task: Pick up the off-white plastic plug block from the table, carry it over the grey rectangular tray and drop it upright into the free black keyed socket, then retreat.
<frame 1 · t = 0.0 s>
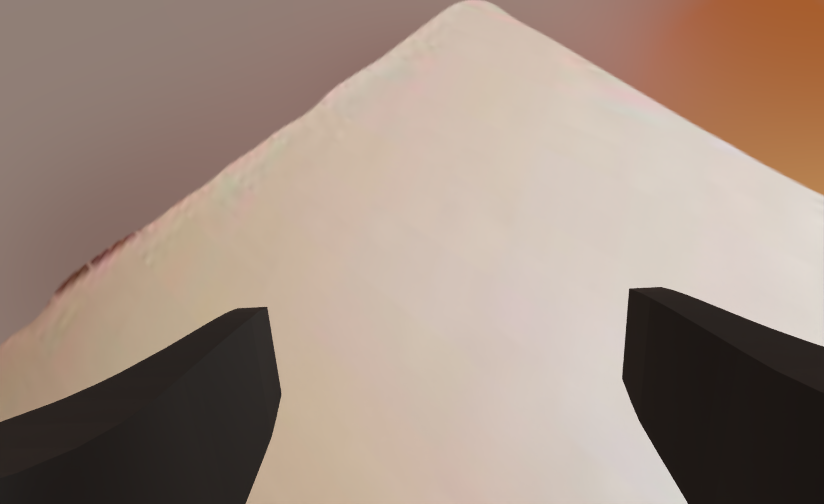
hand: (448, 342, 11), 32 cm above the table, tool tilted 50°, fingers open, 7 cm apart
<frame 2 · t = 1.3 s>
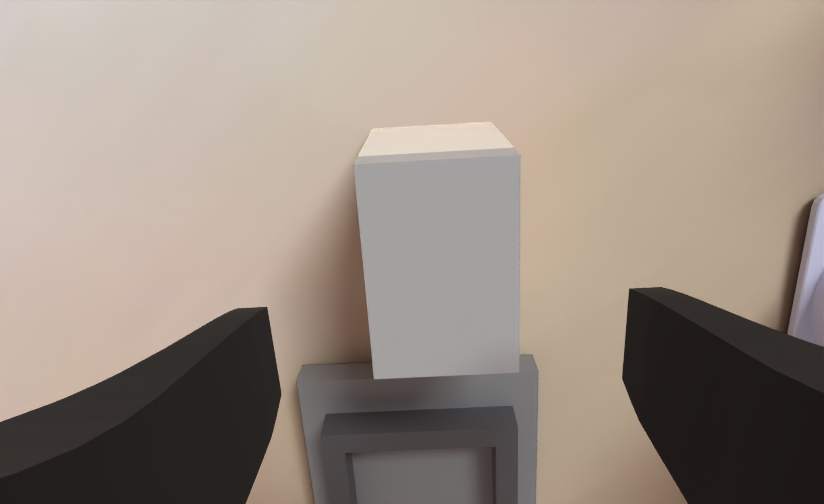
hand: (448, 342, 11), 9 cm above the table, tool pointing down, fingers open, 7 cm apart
plug: (435, 210, 20), on the table
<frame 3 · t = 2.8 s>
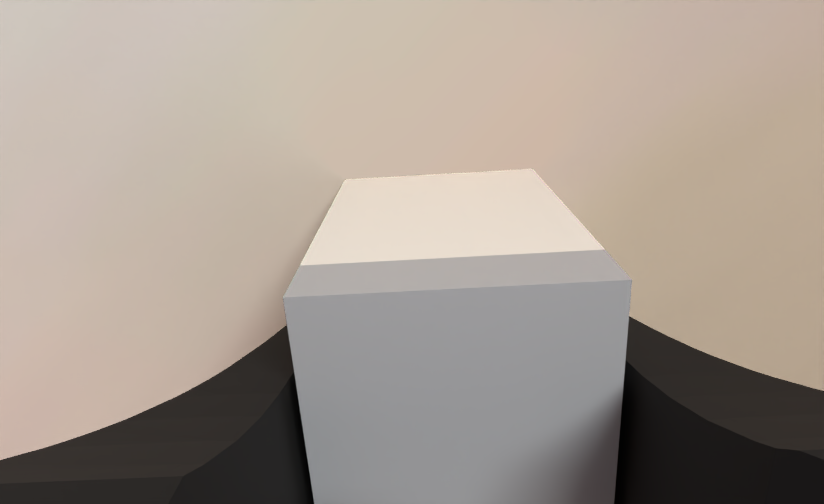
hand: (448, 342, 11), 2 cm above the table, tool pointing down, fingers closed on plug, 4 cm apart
plug: (443, 301, 13), on the table, touching gripper
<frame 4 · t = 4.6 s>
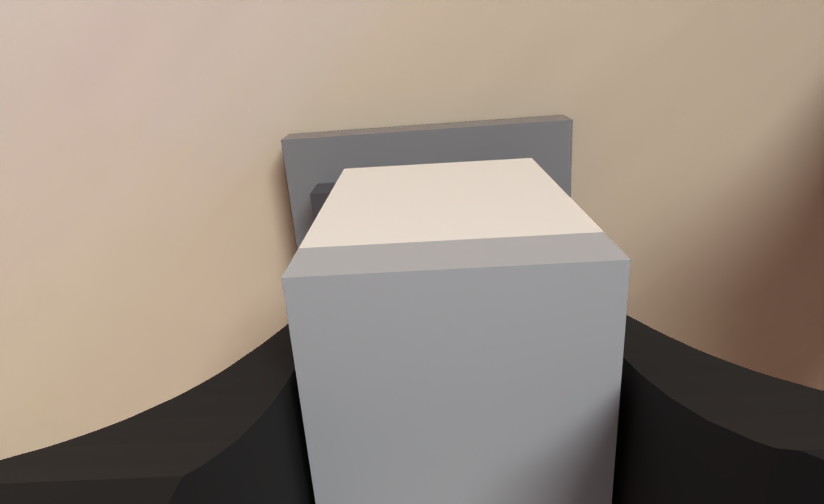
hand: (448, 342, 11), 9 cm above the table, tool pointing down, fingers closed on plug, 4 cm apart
plug: (443, 291, 13), point 7 cm above the table, touching gripper
grey rectangular tray: (441, 385, 22), on the table
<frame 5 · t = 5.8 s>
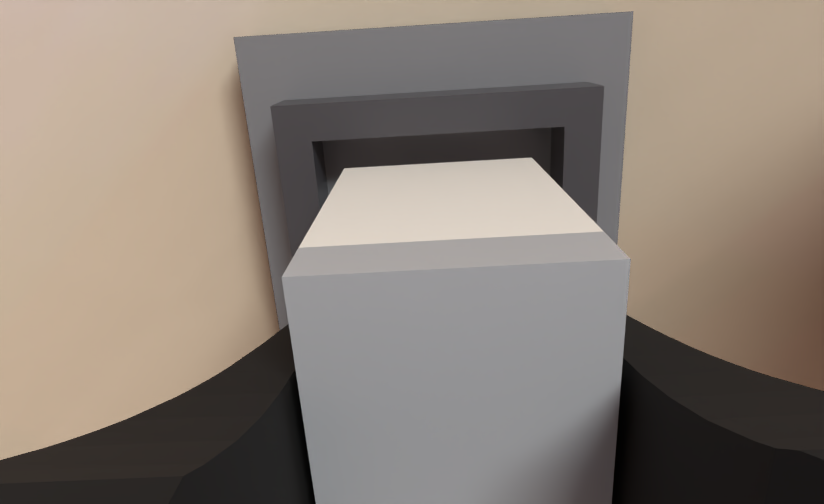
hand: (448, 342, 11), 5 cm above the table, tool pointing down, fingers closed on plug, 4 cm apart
plug: (443, 291, 13), point 3 cm above the table, touching gripper
grey rectangular tray: (446, 377, 17), on the table
when the fingers open (4 cm above the table, at t = 6.5 s): plug stays where it is, resting on grey rectangular tray.
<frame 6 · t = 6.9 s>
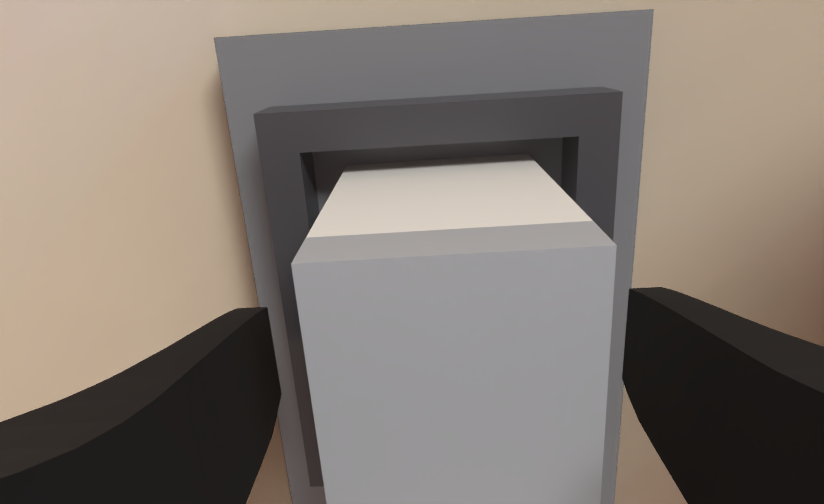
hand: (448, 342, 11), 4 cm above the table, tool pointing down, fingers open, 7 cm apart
plug: (443, 283, 14), point 1 cm above the table, touching grey rectangular tray
grey rectangular tray: (447, 402, 16), on the table
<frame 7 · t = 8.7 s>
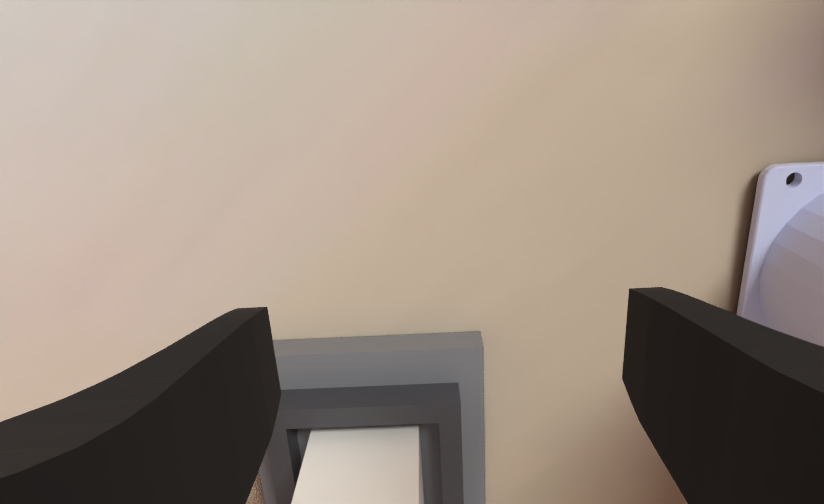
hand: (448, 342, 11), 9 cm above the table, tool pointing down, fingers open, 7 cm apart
plug: (372, 479, 23), point 1 cm above the table, touching grey rectangular tray
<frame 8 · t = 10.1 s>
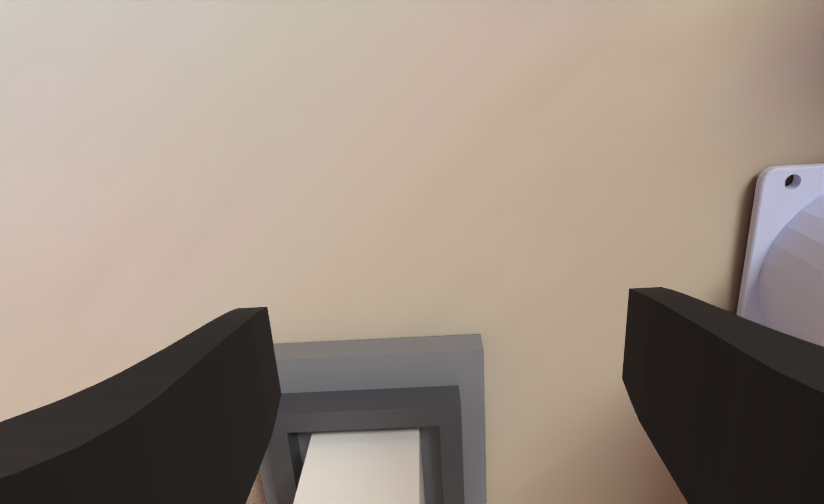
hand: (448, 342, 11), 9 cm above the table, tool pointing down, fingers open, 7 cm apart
plug: (373, 481, 23), point 1 cm above the table, touching grey rectangular tray
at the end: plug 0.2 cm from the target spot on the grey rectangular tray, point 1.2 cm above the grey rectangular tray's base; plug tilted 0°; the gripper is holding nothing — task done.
